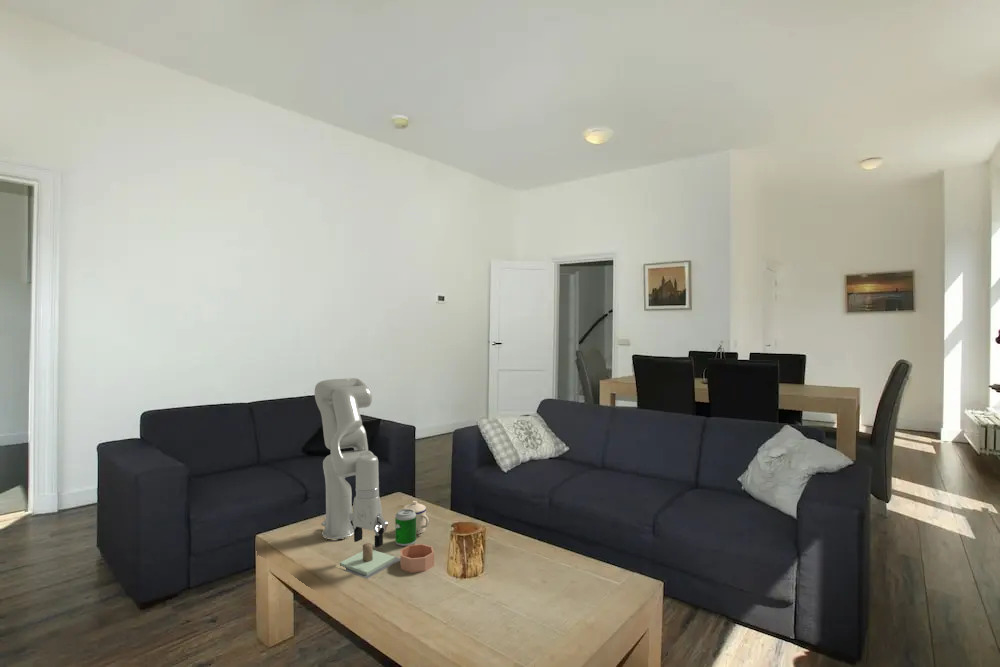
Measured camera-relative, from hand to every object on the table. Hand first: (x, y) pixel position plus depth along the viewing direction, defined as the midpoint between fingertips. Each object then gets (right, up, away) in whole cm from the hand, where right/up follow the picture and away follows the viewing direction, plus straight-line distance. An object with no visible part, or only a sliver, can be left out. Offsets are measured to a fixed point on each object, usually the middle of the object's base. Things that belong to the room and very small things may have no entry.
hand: (368, 543), depth 177 cm
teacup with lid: (+12, -7, +28) cm, 32 cm away
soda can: (+10, -7, +17) cm, 21 cm away
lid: (0, -7, +1) cm, 7 cm away
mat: (0, -8, +1) cm, 8 cm away
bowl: (+17, -8, 0) cm, 18 cm away
